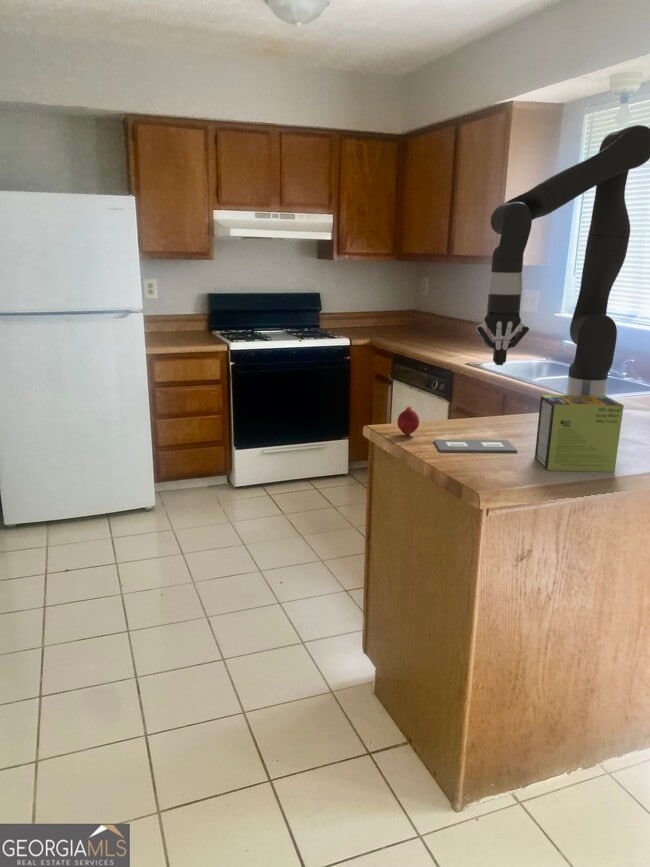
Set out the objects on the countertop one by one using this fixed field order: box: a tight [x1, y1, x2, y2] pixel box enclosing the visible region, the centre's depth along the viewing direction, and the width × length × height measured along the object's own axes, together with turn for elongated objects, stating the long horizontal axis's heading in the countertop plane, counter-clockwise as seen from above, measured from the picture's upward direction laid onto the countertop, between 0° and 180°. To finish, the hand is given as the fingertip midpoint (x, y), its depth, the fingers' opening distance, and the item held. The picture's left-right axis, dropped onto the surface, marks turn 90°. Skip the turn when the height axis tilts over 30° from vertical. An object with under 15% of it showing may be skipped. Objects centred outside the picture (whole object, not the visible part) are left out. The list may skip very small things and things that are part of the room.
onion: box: [396, 405, 420, 436], centre depth 171 cm, size 6×6×8 cm
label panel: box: [433, 438, 518, 453], centre depth 162 cm, size 19×9×1 cm, turn 90°
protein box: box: [534, 394, 624, 473], centre depth 147 cm, size 10×15×16 cm
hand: (498, 364), depth 156 cm, fingers closed
